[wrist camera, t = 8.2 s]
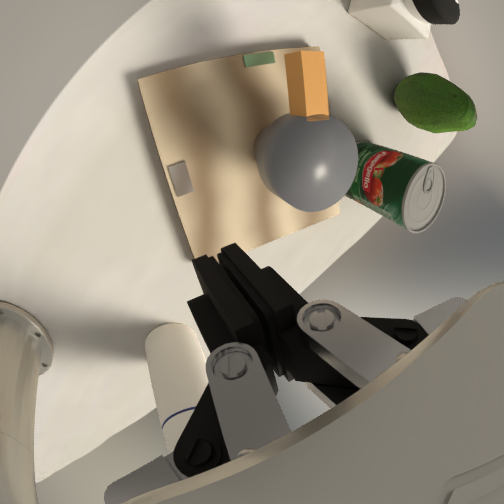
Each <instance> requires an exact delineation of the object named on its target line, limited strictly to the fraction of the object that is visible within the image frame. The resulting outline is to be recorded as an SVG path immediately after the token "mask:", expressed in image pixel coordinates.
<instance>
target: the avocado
mask: <svg viewBox="0 0 504 504" xmlns="http://www.w3.org/2000/svg"><path fill="white" fill-rule="evenodd" d="M394 100H395V103H396V106H397V108H398V110H399V111H400V113H401V114H402V116H403V117H404V118H405V119H406V120H407V121H408V122H409V123H410V124H412V125H414V126H415V127H417V128H420V129H423V130H426V131H430V132H433V133H442V132H452V131H463V130H468V129H470V128H472V127H474V126H475V124H476V120H477V113H476V108H475V105H474V103H473V101H472V99H471V98H470V96H469V95H467V94H466V93H465V92H464V91H463V90H461V89H460V88H459V87H457V86H456V85H455V84H453V83H451V82H450V81H448V80H446V79H445V78H443V77H441V76H439V75H437V74H431V73H417V74H413V75H410V76H407V77H406V78H404V79H403V80H402V81H400V83H399V84H398V86H397V87H396V88H395V92H394Z"/></svg>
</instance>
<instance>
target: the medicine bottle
mask: <svg viewBox="0 0 504 504" xmlns="http://www.w3.org/2000/svg"><path fill="white" fill-rule="evenodd" d="M348 12H349V14H351V15H352V16H354V17H355V18H357V19H358V20H360V21H361V22H362V23H364V24H365V25H367V26H368V27H370V28H371V29H372V30H374V31H375V32H376V33H378V34H379V35H380V36H382V37H383V38H384V39H386V40H396V39H427V38H428V37H429V32H430V25H431V24H455V23H456V22H457V21H458V19H459V16H460V9H459V3H458V0H351V3H350V6H349V10H348Z"/></svg>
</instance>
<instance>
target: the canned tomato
mask: <svg viewBox="0 0 504 504" xmlns="http://www.w3.org/2000/svg"><path fill="white" fill-rule="evenodd" d="M356 144H357V149H358V166H357V171H356V175H355V178H354V180H353V183H352V185H351V187H350V188H349V190H348V191H347V193H346V194H345V196H346V197H348V198H350V199H353V200H355V201H356V202H358V203H360V204H362V205H364V206H366V207H368V208H370V209H371V210H373V211H375V212H377V213H379V214H380V215H383V216H384V217H386V218H388V219H389V220H392V221H393V222H395V223H397V224H399V225H400V226H402V227H404V228H406V229H407V230H408V231H410V232H412V233H420V232H422V231H424V230H425V229H427V228H428V227H429V226H430V225H431V224H432V223H433V222H434V220H435V219H436V217H437V216H438V214H439V212H440V210H441V207H442V204H443V201H444V197H445V192H446V179H445V175H444V172H443V170H442V168H441V167H440V166H439V165H438V164H436V163H432V162H429V161H426V160H424V159H421V158H418V157H415V156H412V155H409V154H406V153H403V152H399V151H397V150H393V149H390V148H387V147H383V146H379V145H376V144H372V143H370V142H366V141H361V142H357V143H356Z"/></svg>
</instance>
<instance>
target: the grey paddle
mask: <svg viewBox="0 0 504 504" xmlns="http://www.w3.org/2000/svg"><path fill="white" fill-rule="evenodd" d="M284 59H285V68H286V78H287V88H288V98H289V110H290V113H287V114H285V115H283V116H281V117H279V118H278V119H276V120H275V121H274V122H273V123H271V124H270V126H269V127H268V128H267V129H266V131H265V132H264V134H263V136H262V138H261V140H260V143H259V146H258V150H257V168H258V172H259V175H260V178H261V180H262V182H263V183H264V185H265V186H266V187H267V188H268V190H270V191H271V192H272V193H273V194H275V195H276V196H278V197H279V198H281V199H282V200H284V201H285V202H287V203H288V204H290V205H291V206H293V207H294V208H296V209H298V210H301V211H305V212H317V211H322V210H325V209H327V208H329V207H331V206H333V205H334V204H336V203H337V202H338V201H339V200H340V199H341V198H342V197H343V196H344V195H345V194H346V193H347V191H348V190H349V188H350V187H351V185H352V183H353V180H354V178H355V175H356V171H357V166H358V149H357V144H356V141H355V138H354V136H353V134H352V132H351V131H350V129H349V128H348V127H347V126H346V125H345V124H344V123H343V122H342V121H340V120H339V119H337V118H335V117H333V116H330V115H329V111H328V95H327V82H326V70H325V59H324V52H321V51H296V52H292V53H287V54H284Z"/></svg>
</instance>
